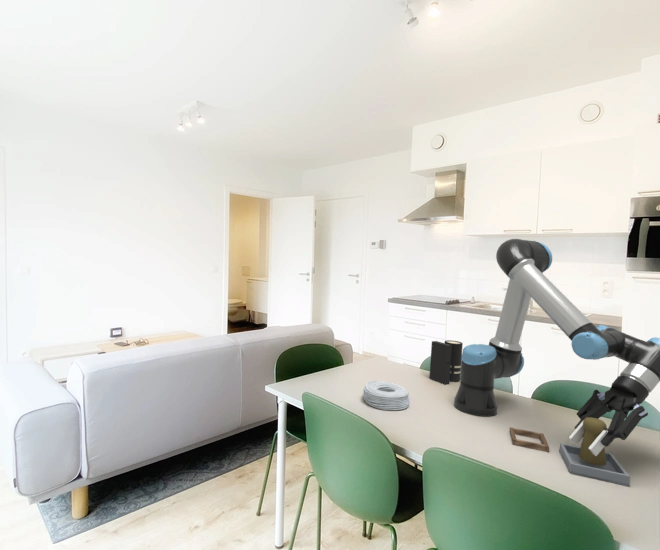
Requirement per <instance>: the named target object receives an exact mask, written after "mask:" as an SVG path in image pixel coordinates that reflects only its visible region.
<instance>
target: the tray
mask: <svg viewBox="0 0 660 550" xmlns="http://www.w3.org/2000/svg"><path fill="white" fill-rule="evenodd" d="M580 448H581V446H578V445H574V444H573V445H572V444H566V443H562V442H559V448H558V449H559V450H558V452H559V454H560V456H561V458H562V460H563V462H564V464H565V466H566V468H567V470H568V472H569V474H570V475H571V474H572V475H575V476H581V477H586V478H589V479H594V480H599V481H603V482H608V483H612V484H615V485H620V486H625V487H630V484H631V476H630V474H629V472H627V471H626V470H625V468H624V467H623V465H622V464H621V463H620V462H619V461H618V459H617V458H616V457H615V455H614V454H613V453H612V452H607V451H605V456H606V465H603V466H600V465H594V464H591V463H588V462H586V461H584V460H582V459H581V458H580V457H579V453H580Z"/></svg>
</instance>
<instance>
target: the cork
mask: <svg viewBox="0 0 660 550" xmlns="http://www.w3.org/2000/svg"><path fill="white" fill-rule="evenodd" d="M583 427H584V428H585V432H584V436H583V438H582V439H581V441H582V442H581V445H580V447H581V448H580V453H579V457H580V458H581V459H582V460H584V461H586V462H588V463H591V464H594V465H600V466H603V465H606V456H605V452H606V446H604V448H603V449H602V450H601V451H600V452H599V454H598V455H597V456H595V455H593V453H592V452H591V451H590V450H589V447H590V445H591V444H592V443H593V442H594V441H595V439H596V438H597V437H598V436H599V435H600V433H601V432H602V431H603V430H605V431H607V429H606V428H608V427H607V424H606V423H605V421H603V420H601V419H600V418H598V419H597V418H592V417H587V418H585V419H584V421H583Z"/></svg>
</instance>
